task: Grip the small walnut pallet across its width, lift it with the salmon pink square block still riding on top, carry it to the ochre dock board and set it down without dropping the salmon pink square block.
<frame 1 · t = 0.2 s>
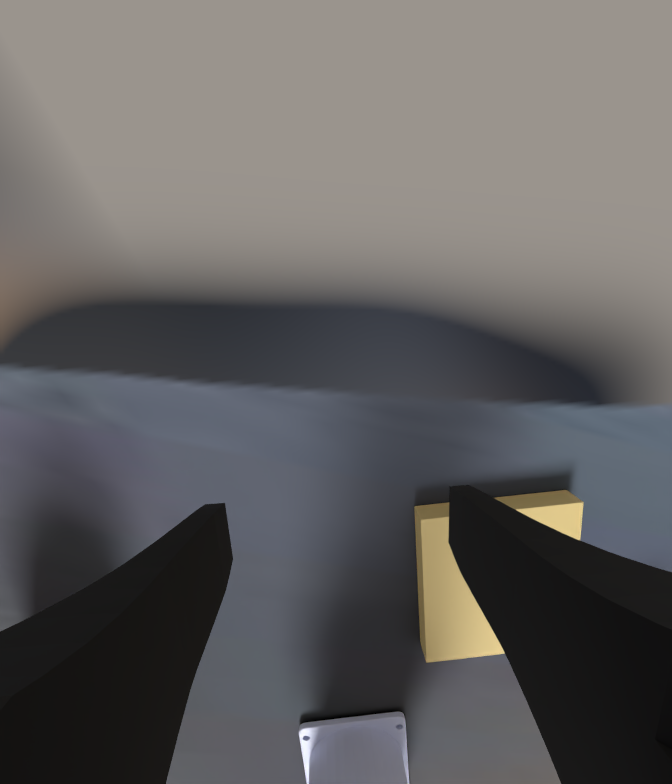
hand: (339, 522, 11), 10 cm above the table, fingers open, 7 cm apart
dock: (489, 569, 24), on the table
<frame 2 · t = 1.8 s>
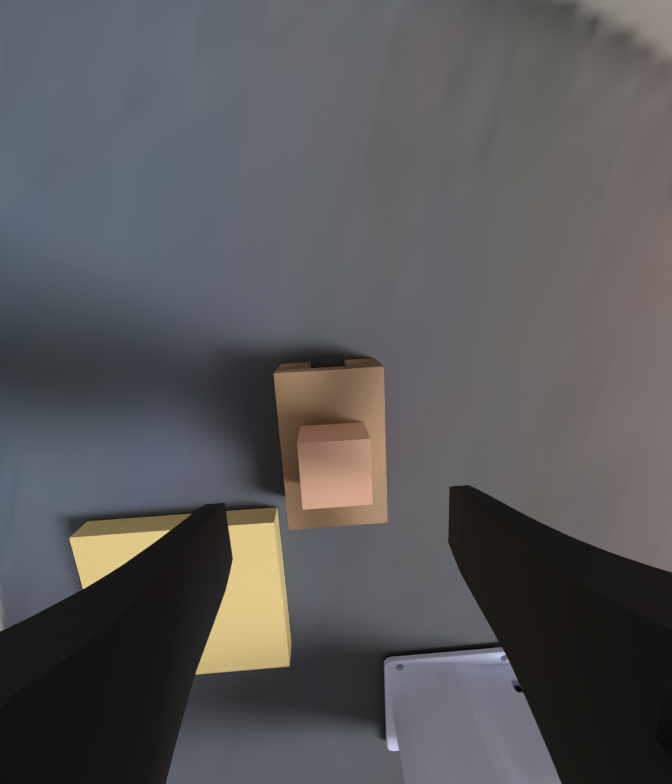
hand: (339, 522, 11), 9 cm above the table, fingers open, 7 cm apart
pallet: (331, 430, 20), on the table, touching salmon pink square block
dock: (195, 586, 21), on the table
salmon pink square block: (333, 453, 17), point 3 cm above the table, touching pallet
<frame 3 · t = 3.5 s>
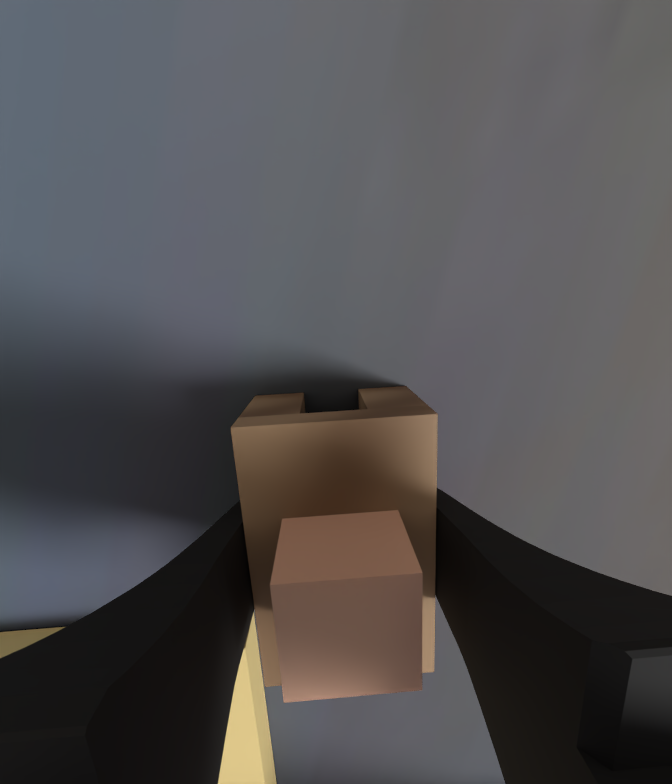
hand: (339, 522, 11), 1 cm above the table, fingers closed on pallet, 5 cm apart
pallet: (337, 499, 12), on the table, touching salmon pink square block, gripper
dock: (133, 721, 14), on the table
salmon pink square block: (343, 564, 9), point 3 cm above the table, touching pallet
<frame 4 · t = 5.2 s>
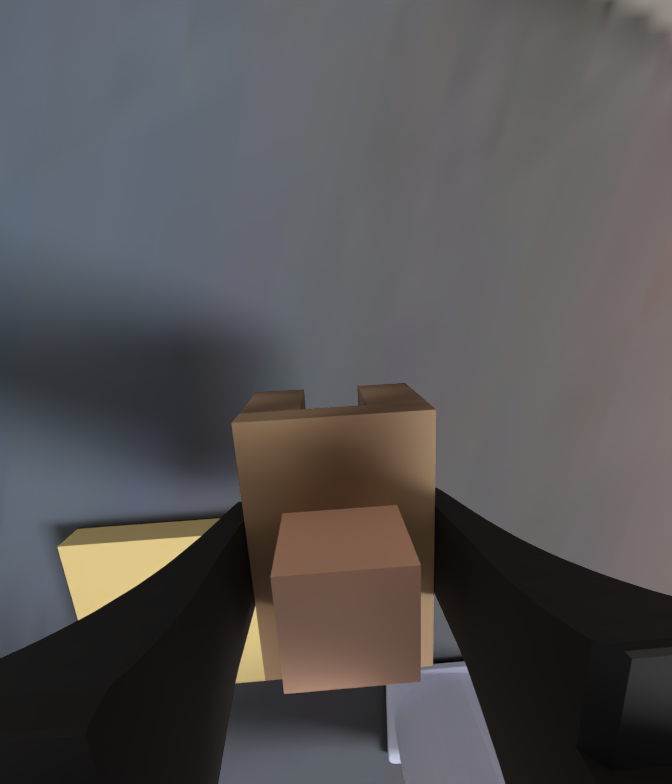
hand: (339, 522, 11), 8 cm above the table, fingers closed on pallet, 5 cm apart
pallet: (337, 495, 12), point 6 cm above the table, touching salmon pink square block, gripper
dock: (190, 595, 21), on the table
salmon pink square block: (343, 558, 9), point 10 cm above the table, touching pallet
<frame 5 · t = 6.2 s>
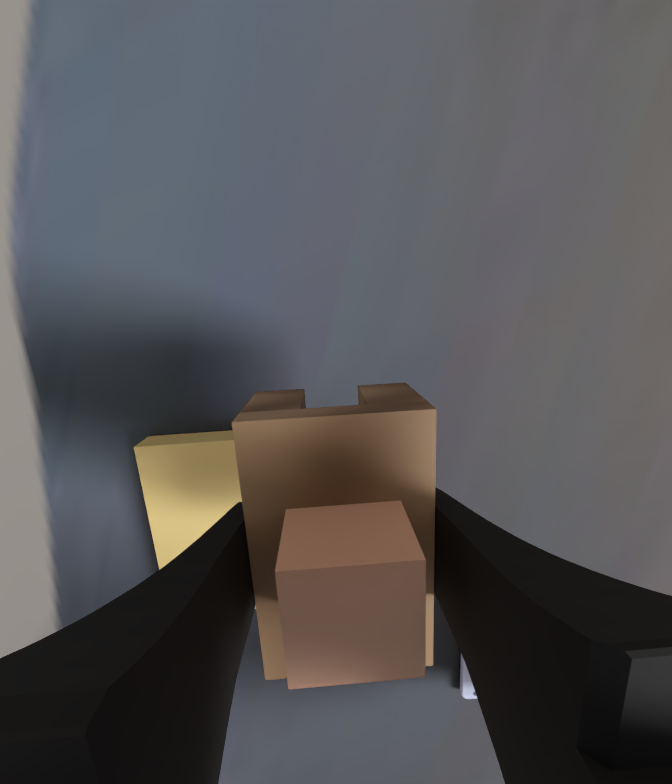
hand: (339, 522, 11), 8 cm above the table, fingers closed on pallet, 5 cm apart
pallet: (337, 495, 12), point 6 cm above the table, touching salmon pink square block, gripper
dock: (263, 512, 19), on the table
salmon pink square block: (346, 554, 9), point 10 cm above the table, touching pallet
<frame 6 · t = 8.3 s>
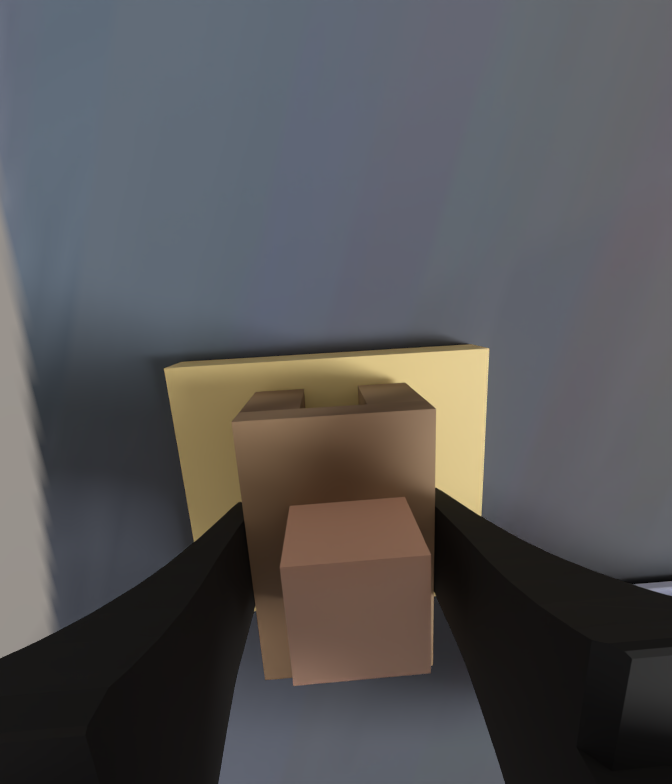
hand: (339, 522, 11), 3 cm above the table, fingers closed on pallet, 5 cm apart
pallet: (337, 495, 12), point 2 cm above the table, touching salmon pink square block, gripper
dock: (335, 473, 14), on the table
salmon pink square block: (350, 551, 9), point 5 cm above the table, touching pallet
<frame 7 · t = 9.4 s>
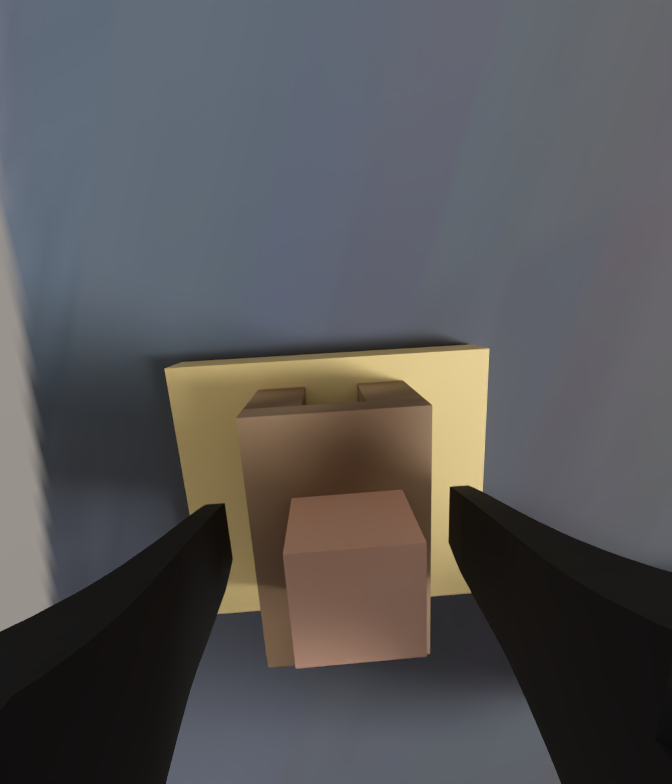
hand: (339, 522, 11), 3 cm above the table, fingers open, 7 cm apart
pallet: (337, 490, 13), point 1 cm above the table, touching salmon pink square block, dock
dock: (335, 473, 14), on the table
salmon pink square block: (350, 542, 10), point 5 cm above the table, touching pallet
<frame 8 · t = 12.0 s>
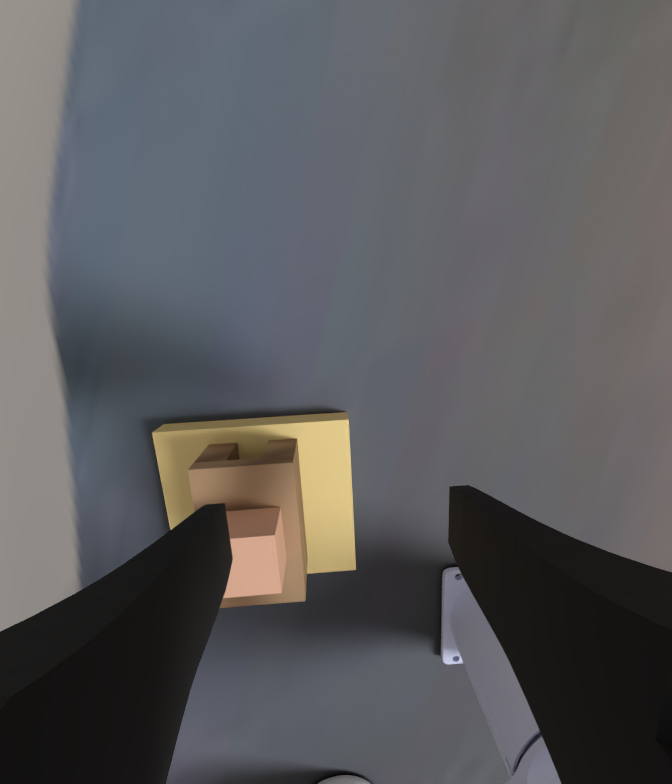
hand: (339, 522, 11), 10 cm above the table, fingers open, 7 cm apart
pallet: (260, 504, 20), point 1 cm above the table, touching salmon pink square block, dock
dock: (264, 492, 22), on the table
salmon pink square block: (253, 535, 17), point 5 cm above the table, touching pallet
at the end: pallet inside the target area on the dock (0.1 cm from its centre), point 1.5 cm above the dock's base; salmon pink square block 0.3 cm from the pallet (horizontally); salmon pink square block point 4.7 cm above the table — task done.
